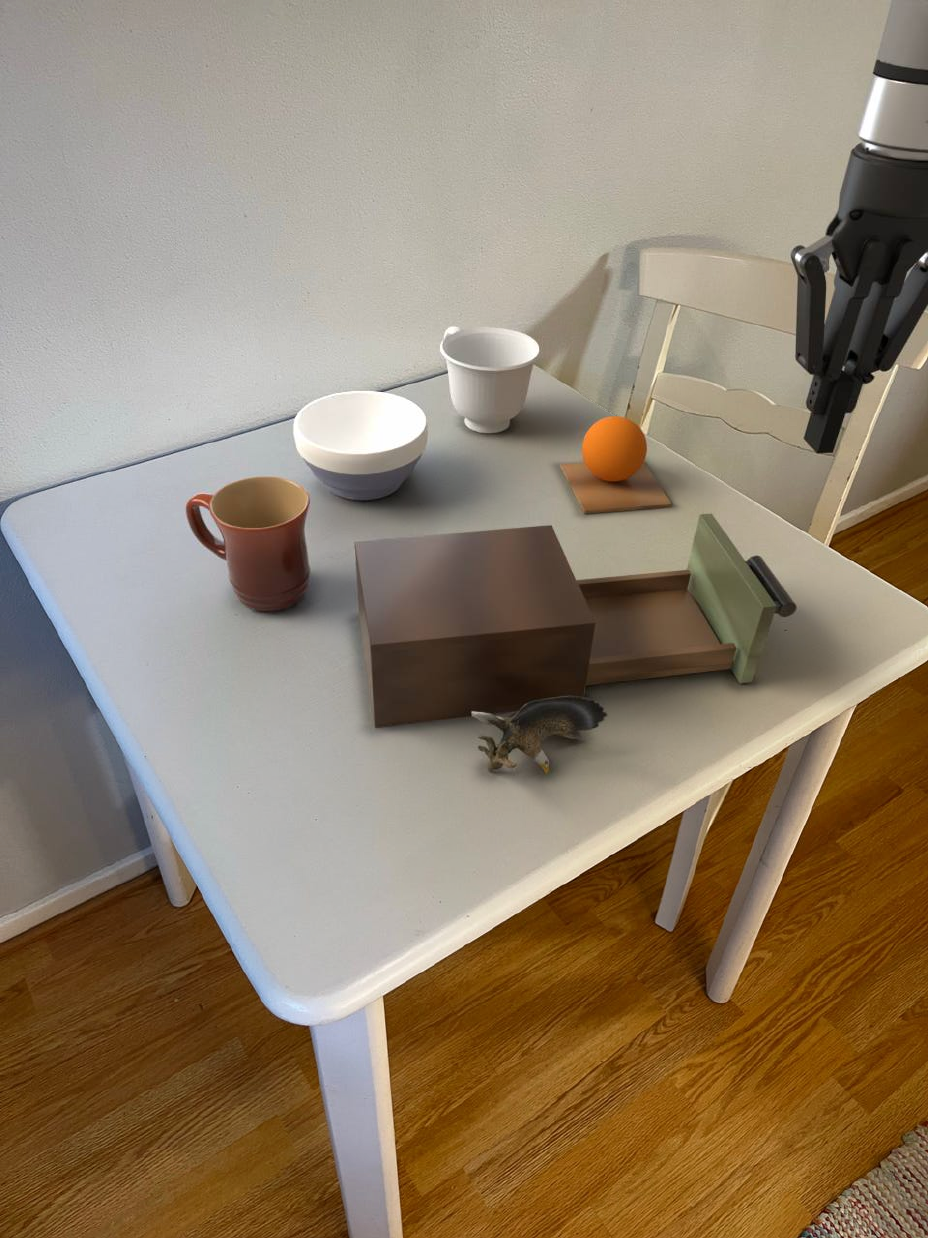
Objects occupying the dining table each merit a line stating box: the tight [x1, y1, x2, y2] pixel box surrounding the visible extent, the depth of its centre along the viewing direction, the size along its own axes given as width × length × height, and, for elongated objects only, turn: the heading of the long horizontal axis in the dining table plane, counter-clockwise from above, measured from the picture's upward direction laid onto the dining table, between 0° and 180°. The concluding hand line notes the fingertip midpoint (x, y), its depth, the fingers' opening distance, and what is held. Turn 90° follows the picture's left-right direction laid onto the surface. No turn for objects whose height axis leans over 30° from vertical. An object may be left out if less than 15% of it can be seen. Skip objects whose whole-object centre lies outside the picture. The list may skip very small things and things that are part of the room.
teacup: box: [439, 325, 542, 434], centre depth 111 cm, size 12×15×10 cm
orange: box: [581, 415, 648, 481], centre depth 101 cm, size 7×7×7 cm
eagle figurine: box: [471, 695, 608, 774], centre depth 70 cm, size 8×7×9 cm
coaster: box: [559, 461, 672, 515], centre depth 102 cm, size 10×10×1 cm
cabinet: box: [353, 524, 595, 728], centre depth 77 cm, size 18×14×9 cm
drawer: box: [576, 512, 798, 686], centre depth 79 cm, size 22×14×9 cm, turn 100°
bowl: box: [293, 390, 429, 501], centre depth 99 cm, size 14×14×8 cm
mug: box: [185, 475, 311, 612], centre depth 83 cm, size 12×9×10 cm
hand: (818, 445), depth 78 cm, fingers closed
